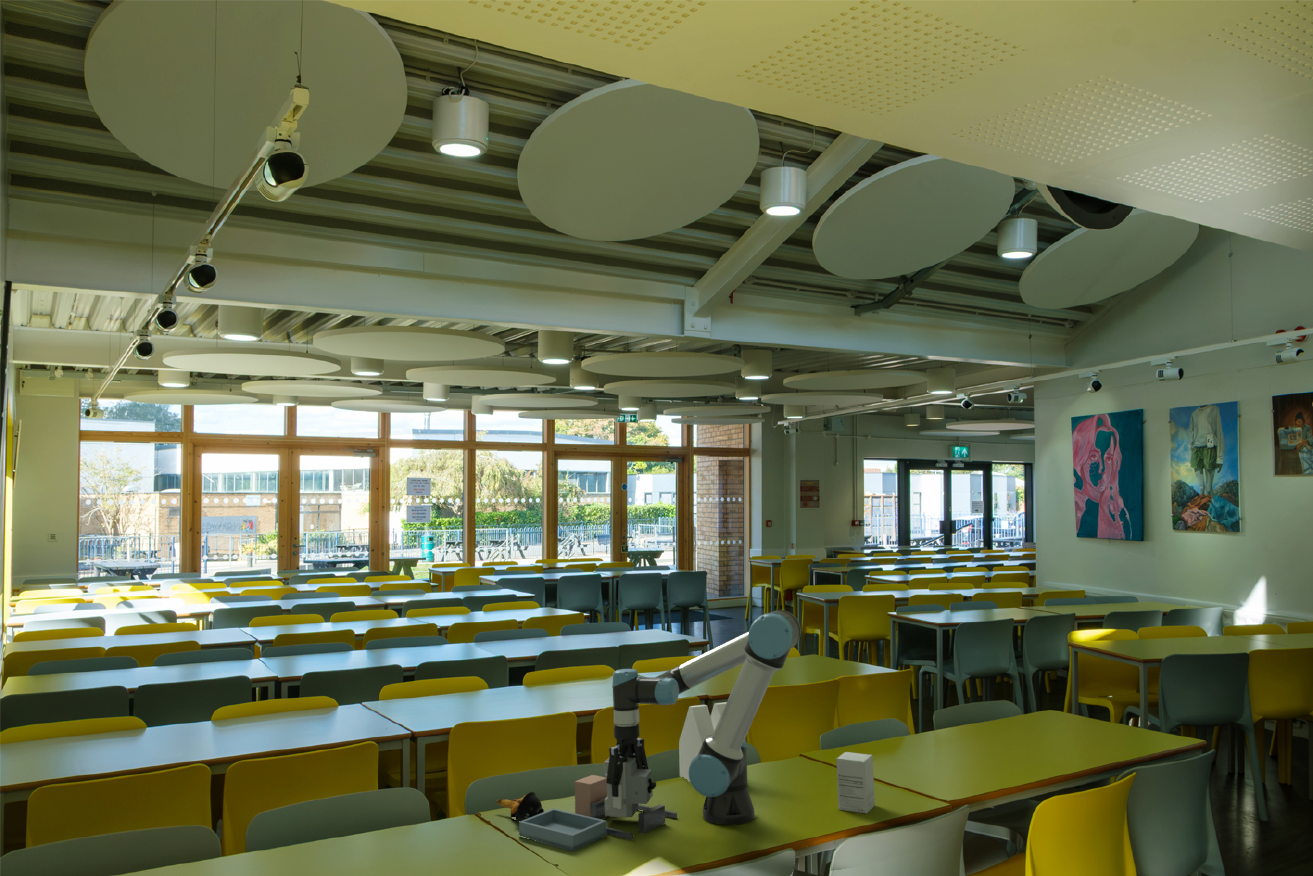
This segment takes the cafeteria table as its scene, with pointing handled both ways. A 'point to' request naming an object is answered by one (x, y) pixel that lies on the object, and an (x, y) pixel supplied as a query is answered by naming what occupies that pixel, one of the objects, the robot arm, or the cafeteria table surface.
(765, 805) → the cafeteria table surface
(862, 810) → the supplement box
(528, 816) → the fried shrimp in bowl
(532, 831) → the tray
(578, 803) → the beige rectangular block
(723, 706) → the milk carton
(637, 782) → the circuit breaker
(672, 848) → the cafeteria table surface
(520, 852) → the cafeteria table surface
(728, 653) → the robot arm
